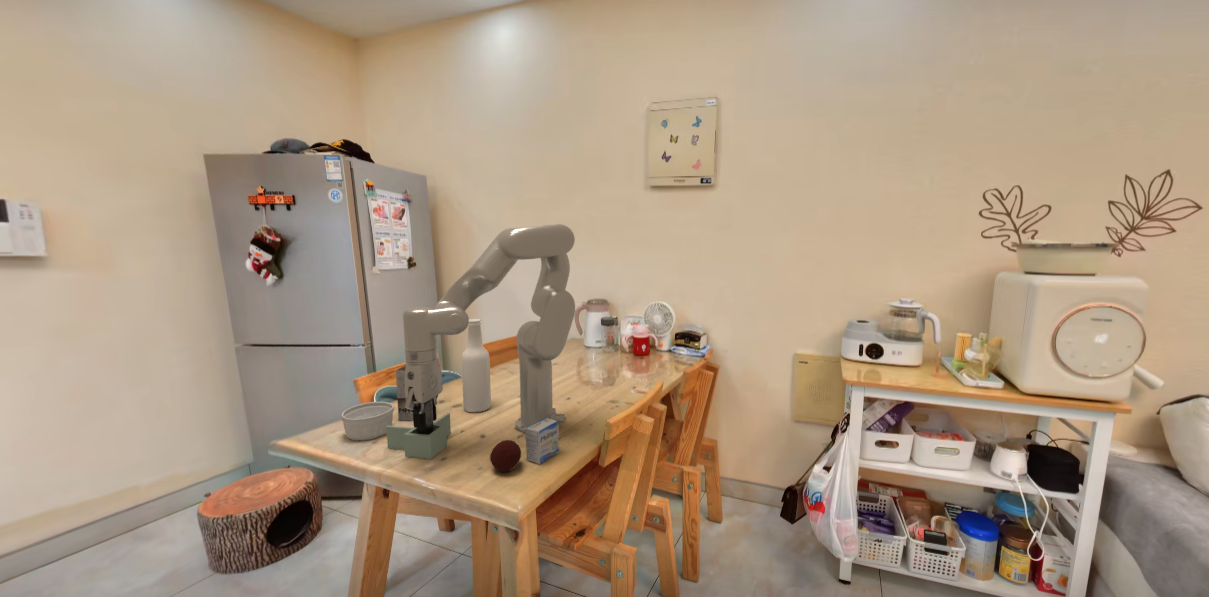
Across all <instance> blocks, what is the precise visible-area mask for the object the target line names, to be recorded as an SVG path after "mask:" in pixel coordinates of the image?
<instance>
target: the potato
mask: <svg viewBox="0 0 1209 597" xmlns="http://www.w3.org/2000/svg"><path fill="white" fill-rule="evenodd" d="M521 457H522V450H521V447H520V445H519V444H518V443H517V442H516V441H514V440H512V439H506V440H502V441H500V442H498V443H496V445H495V446H494V447H493V448H492V449H491V452H490V455H489V460H490V463H491V465H492V466H493V468H495V469H496V470H497V471H498V472H501V473H506V472H509V471H511V470H513V469H514V468H515V467H516V466H517V465H518V464H519V461H520V460H521Z"/></svg>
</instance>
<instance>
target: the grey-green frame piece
mask: <svg viewBox="0 0 1209 597" xmlns="http://www.w3.org/2000/svg"><path fill="white" fill-rule="evenodd" d="M433 423H434V431H433V432H432V433H431V434H429V435H424V434H417V428H415V427H414V426H412V427H411V426H409V427H408V426H401V425H400V426H399V425H392V426H389V425H388V426H387V427H386V428H387V433H386V440H387V443H386V444H387V449H394V450H404V457H405V456H407V457H406V458H417V459H424V458H426V460H433V458H435V457H436V456H437V455H438V454H439V453H440V452H442V451H443V450H444V449H445V448H447V446H448V440H447V437H448V436H449V435H450V434H451V433H452V432H451V431H452V429H451V428H452V427H451V412H450V413H449V412H447V413H445V414H444V415H442V416H441V417H440V418H437V419H436V420H435V421H433Z"/></svg>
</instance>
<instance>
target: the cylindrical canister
mask: <svg viewBox="0 0 1209 597" xmlns="http://www.w3.org/2000/svg"><path fill="white" fill-rule="evenodd" d="M416 406H418V407H419V404H416ZM424 413H425V414H426V427H425V428H417V434H424V435H429V434H431V433H432V432H433V431H434V421H433V405H432V399H430V400H429V401H427V402H425V403H424Z"/></svg>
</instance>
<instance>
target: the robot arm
mask: <svg viewBox="0 0 1209 597" xmlns="http://www.w3.org/2000/svg"><path fill="white" fill-rule="evenodd" d="M574 245H575V235H574V232H573V231H572V229H571V228H570V227H569V226H567V225H566V224H561V223H555V224H545V225H541V226H539V225H538V226H529V227H526V226H525V227H511V228H509V227H508V228H506V229H503V230H502V231H500V232H499V233H498V234H497V235H496V236H495V238H494V239H493V240H492V241H491V243H490V244H489V245H488V246H487V248H486V249H485V250H484V251H483V253H482V254H481V255H480V256H479V257H478V259H477V260H476V261H475V262H474V263H473V264H472V266H471V267H470V268H469V269H467V271H465V273H464V274H463V275H462V276H460V277H459V278H458V279H457V280H456V281H455V282H454V283H453V284H452V285H451V287H449V288H448V290H447V291H446V292H445V293H444V294H443V296H442V297H441V298H440V299H439V301H438V302H437V303H436V304H435V306H434V307H430V306H429V307H428V306H415V307H409V308H407V309H405V310H404V311H403V314H402V320H403V322H402V323H403V336H404V339H403V340H404V353H405V355H404V356H405V365H406V368H405V397H406V404H405V408H406V409H409V410H410V411H411V413H413V421H412V422H413V428H414V427H415V428H425V427H426V414H425V413H424V403H425V402H427V401H429V400H430V399H432V405H433V422H435V421H437V420H438V418H437V405H438V398H439V395H440V394H441V393H442V392H443V390H444V385H443V384H444V382H443V373H442V369H441V367H442V366H441V362H440V360H439V357H438V344H437V343H438V341H437V335H439V336H440V335H442V336H444V335H445V336H456V335H459V334H461V333H463V332H465V331H466V329H468V324H469V319H470V317H469V315H468V314H469V313H468V312H466V311H467V309H469V307H470V306H471V305H472V304H473V303H474V302H475V301H476V300H477V299H478V298H479V297H481V296H482V295H485V294H486V293H489V292H491V291H493V290H494V289H496V288H497V287H498V286H499V285H500V283H501V282H502V281H503V280H504V279H505V278H506V276H507V275H508V274H509V272H510V271H511V270H512V268H513V267H514V266H515V264H517V262H518V261H519V260H521V261H525V260H533V259H540V262H541V263H540V264H541V265H540V272H539V275H538V276H539V277H538V278H537V279H538V280H537V283H536V285H535V289H534V292H533V295H532V297H531V301H530V307H531V311H532V312H533V314H534V315H536V316H538V317H539V320H538V321H537V320H529V321H527V322H525V323H523V324H522V325H521V326H520V328H518V330H517V334H516V348H517V354H518V355H517V356H518V361H519V362H518V363H519V397H520V402H519V403H520V417H519V418H518V419H517V420H516V421H515V428H516V430H518V431H520V432H522V433H525V434H526V428H528V427H530V426H532V425H534V424H536V423H537V422H539V421H541V420H543V419H545V418H548V419H552V420H556V421H558V424H559V423H561V424H566V421H567V416H565V413H557V412H556V408H555V407H553V363H552V361H553V360H555V359H557V357H559V356H560V355H561V354H562V352H563V350H564V348H565V346H566V344H567V343H566V342H567V340H568V337H569V334H570V330H571V327H572V324H573V321H574V317H575V312H576V303H575V299H574V297H573V296H572V294H571V293H570V292H569V291H567V290H566V288H567V286H568V281H569V276H570V272H571V271H570V270H571V267H570V266H571V265H570V260H569V257H568V253H569V252H571V250H572V249H573V247H574ZM416 404H419V407H418V406H416Z"/></svg>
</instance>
